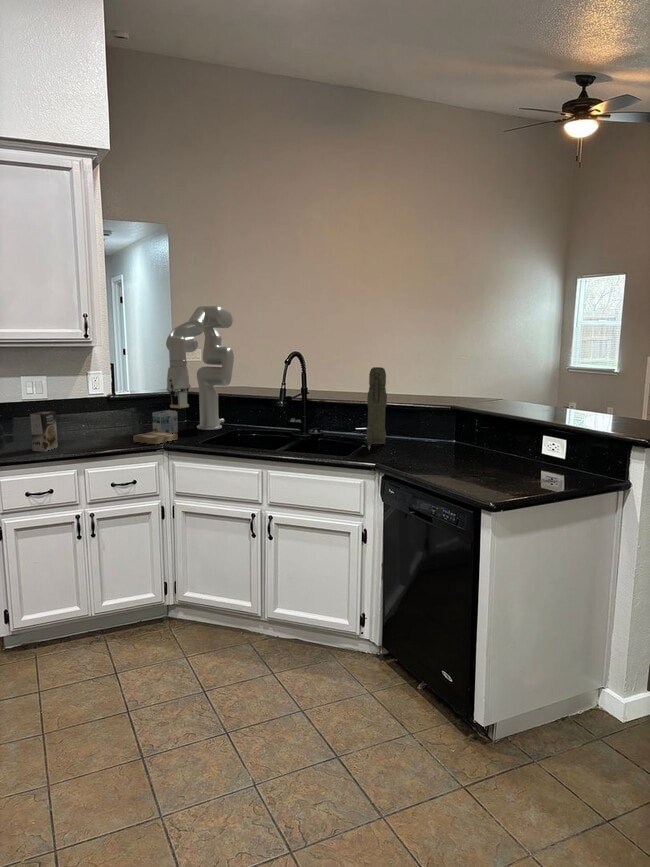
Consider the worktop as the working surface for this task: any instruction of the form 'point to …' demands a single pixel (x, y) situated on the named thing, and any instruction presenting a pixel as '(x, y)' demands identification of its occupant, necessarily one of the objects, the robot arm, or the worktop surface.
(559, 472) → the worktop surface
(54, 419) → the coffee box
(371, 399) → the thermos
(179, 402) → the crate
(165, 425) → the light bulb box
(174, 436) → the dock
